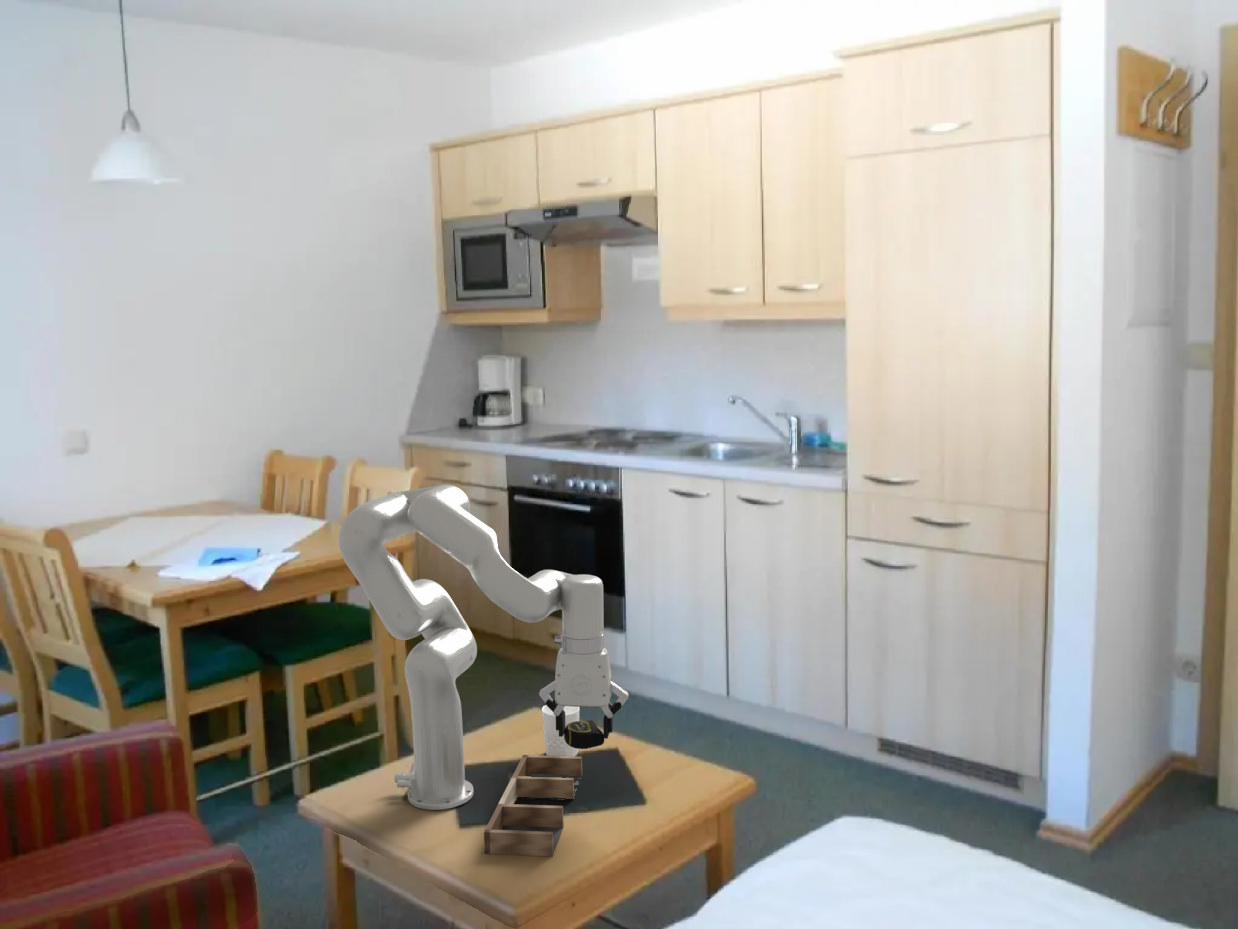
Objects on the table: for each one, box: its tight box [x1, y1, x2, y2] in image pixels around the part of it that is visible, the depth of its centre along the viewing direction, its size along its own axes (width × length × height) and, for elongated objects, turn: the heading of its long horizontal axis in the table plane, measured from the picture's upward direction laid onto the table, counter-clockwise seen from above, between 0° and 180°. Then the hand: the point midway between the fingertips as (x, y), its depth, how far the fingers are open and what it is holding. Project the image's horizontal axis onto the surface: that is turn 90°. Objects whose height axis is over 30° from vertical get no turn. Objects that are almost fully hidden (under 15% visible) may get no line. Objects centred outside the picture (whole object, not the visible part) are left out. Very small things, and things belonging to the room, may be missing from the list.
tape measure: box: [564, 719, 605, 750], centre depth 211 cm, size 7×7×4 cm
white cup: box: [541, 704, 580, 756], centre depth 240 cm, size 8×8×10 cm
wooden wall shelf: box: [483, 754, 583, 857], centre depth 214 cm, size 12×33×4 cm, turn 173°
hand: (584, 734), depth 210 cm, fingers closed on tape measure, 7 cm apart
